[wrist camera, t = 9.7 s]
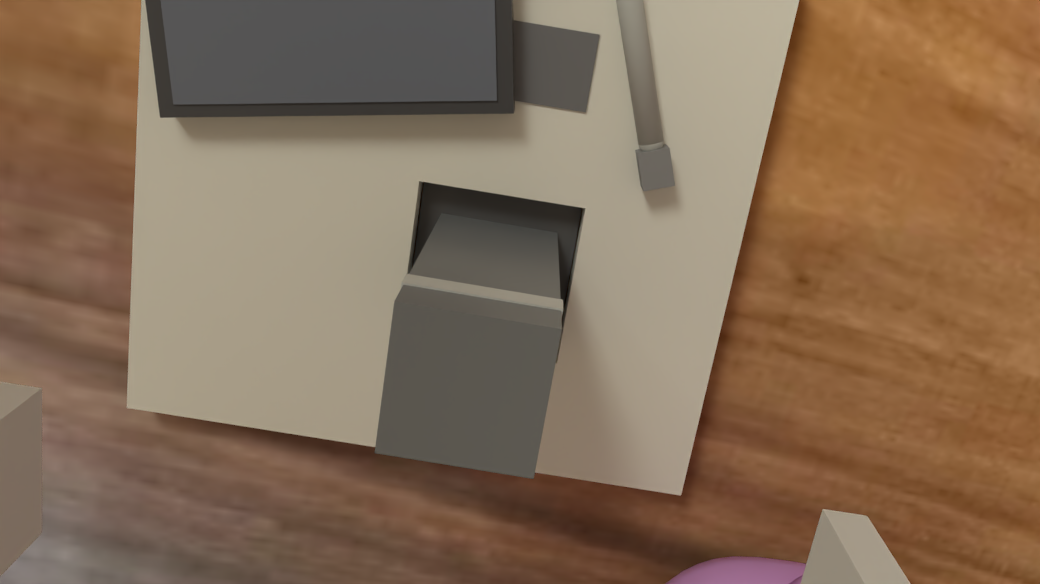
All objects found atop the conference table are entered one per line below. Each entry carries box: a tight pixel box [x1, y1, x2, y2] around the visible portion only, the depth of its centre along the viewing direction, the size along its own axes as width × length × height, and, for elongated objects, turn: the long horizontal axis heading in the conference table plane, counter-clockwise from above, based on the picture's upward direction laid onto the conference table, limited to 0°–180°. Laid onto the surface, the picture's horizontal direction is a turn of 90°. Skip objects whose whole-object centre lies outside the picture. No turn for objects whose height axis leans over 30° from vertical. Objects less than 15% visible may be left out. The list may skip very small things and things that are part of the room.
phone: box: [145, 0, 515, 118], centre depth 28 cm, size 6×11×1 cm, turn 91°
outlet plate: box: [127, 0, 799, 495], centre depth 30 cm, size 18×20×1 cm
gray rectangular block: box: [375, 213, 563, 479], centre depth 27 cm, size 4×4×10 cm
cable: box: [616, 0, 675, 192], centre depth 28 cm, size 11×1×1 cm, turn 11°
